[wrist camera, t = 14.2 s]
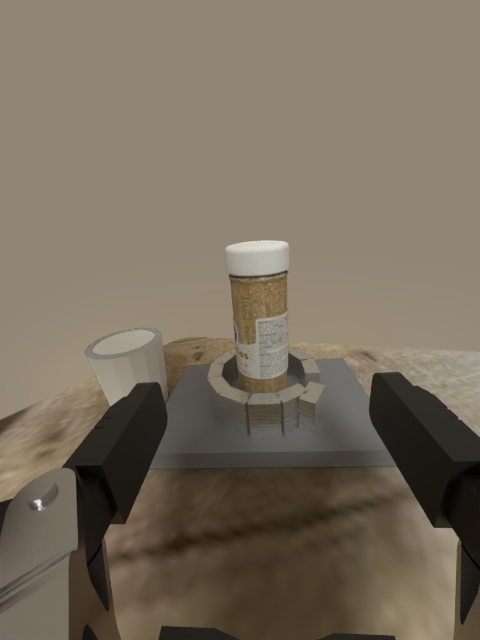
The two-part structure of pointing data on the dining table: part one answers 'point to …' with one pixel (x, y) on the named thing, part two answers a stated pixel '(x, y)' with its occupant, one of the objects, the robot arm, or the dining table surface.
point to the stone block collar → (268, 399)
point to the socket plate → (271, 452)
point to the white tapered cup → (128, 361)
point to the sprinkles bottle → (260, 313)
